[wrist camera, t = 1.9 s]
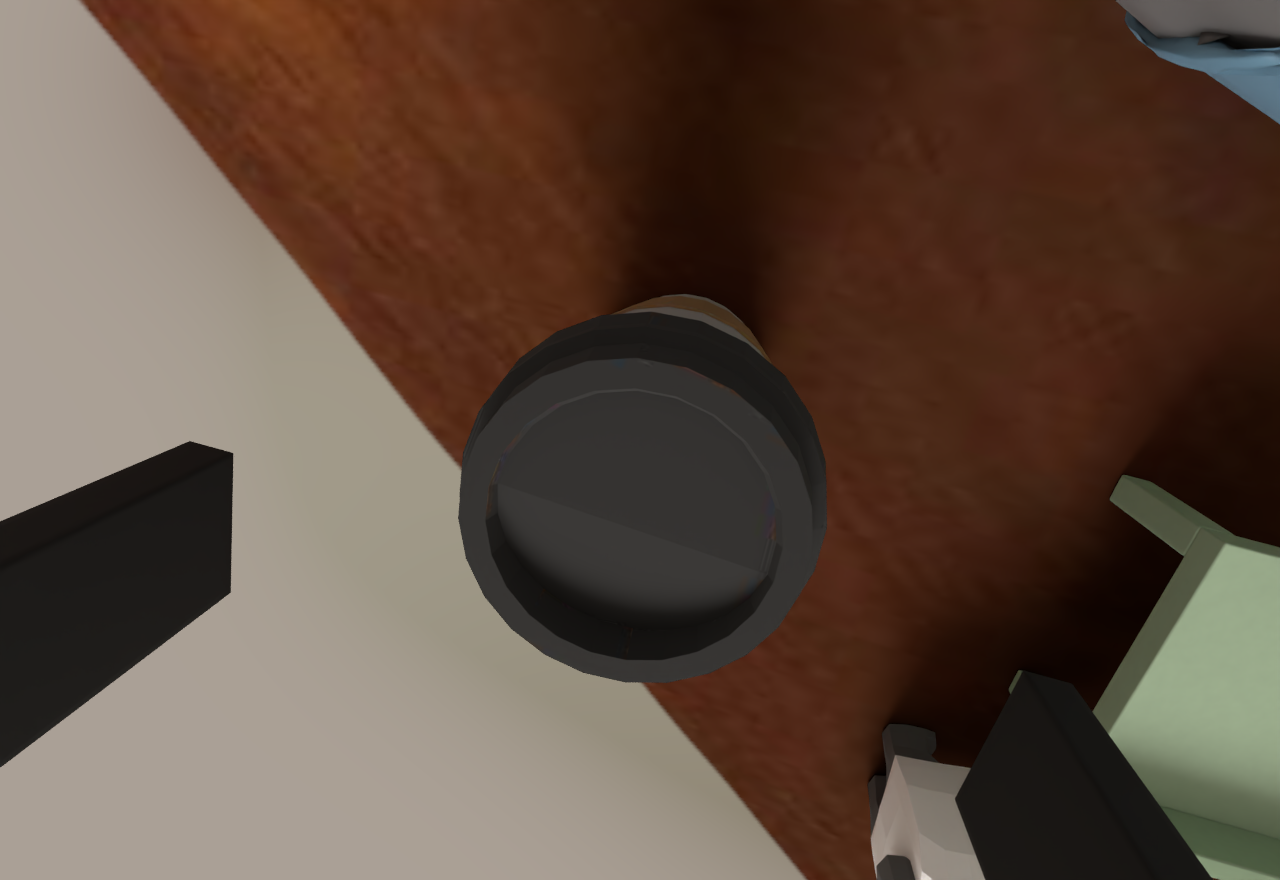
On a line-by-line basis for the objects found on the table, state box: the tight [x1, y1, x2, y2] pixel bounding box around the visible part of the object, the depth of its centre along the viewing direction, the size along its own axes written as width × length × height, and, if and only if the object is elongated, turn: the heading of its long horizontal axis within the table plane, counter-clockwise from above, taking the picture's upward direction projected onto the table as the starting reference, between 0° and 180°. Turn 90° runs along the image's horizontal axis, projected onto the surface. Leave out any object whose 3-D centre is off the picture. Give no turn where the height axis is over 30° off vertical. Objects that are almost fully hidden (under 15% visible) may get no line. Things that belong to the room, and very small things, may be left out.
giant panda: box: [868, 724, 985, 880], centre depth 28 cm, size 15×6×10 cm, turn 84°
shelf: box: [1009, 475, 1280, 880], centre depth 25 cm, size 11×12×8 cm
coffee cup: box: [458, 294, 827, 683], centre depth 21 cm, size 8×8×15 cm
